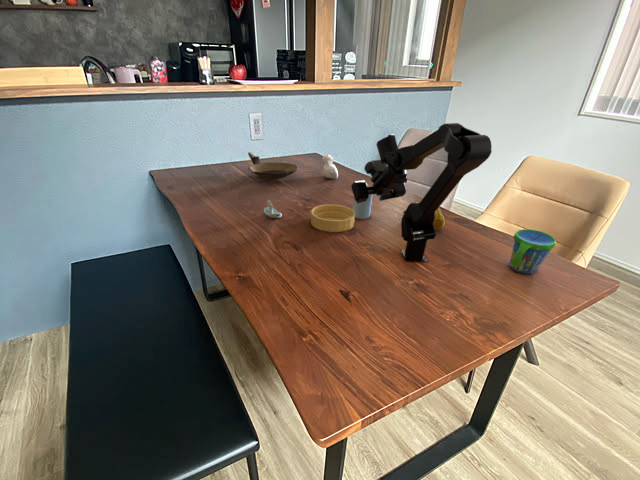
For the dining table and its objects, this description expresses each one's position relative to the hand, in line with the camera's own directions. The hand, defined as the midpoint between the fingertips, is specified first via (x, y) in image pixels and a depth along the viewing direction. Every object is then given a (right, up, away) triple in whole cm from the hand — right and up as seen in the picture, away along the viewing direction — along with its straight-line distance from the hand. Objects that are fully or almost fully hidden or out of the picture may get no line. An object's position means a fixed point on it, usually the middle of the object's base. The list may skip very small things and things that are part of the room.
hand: (368, 200), depth 128 cm
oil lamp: (-40, +26, +44) cm, 65 cm away
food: (+24, -6, +6) cm, 26 cm away
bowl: (-13, -8, 0) cm, 15 cm away
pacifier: (-34, -4, +5) cm, 35 cm away
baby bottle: (-2, -3, +7) cm, 8 cm away
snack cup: (+43, -27, -21) cm, 55 cm away
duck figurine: (-13, +32, +40) cm, 53 cm away
